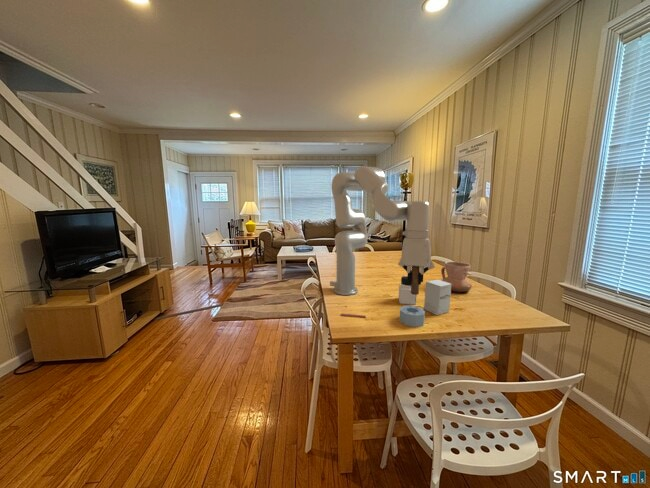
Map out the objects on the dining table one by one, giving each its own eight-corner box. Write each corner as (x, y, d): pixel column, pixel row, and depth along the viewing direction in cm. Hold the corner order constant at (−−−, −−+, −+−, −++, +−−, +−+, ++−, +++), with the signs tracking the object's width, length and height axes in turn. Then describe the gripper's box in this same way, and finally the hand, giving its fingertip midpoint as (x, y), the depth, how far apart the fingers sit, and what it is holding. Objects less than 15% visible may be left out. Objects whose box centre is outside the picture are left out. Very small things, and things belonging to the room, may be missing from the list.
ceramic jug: (480, 293, 129) (482, 265, 127) (458, 296, 124) (460, 268, 122) (451, 283, 146) (453, 259, 144) (431, 286, 141) (433, 261, 139)
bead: (398, 323, 97) (398, 312, 96) (402, 314, 105) (402, 304, 104) (422, 328, 93) (423, 316, 92) (424, 318, 101) (425, 308, 100)
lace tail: (341, 315, 104) (341, 314, 104) (341, 314, 105) (341, 313, 105) (365, 317, 102) (365, 316, 102) (365, 316, 103) (365, 315, 103)
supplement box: (437, 315, 104) (440, 286, 102) (423, 309, 110) (425, 281, 108) (449, 312, 107) (452, 283, 105) (435, 306, 113) (437, 278, 111)
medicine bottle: (416, 305, 115) (417, 279, 113) (399, 303, 116) (400, 278, 114) (413, 299, 121) (415, 275, 120) (398, 298, 123) (399, 274, 121)
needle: (410, 294, 96) (411, 260, 94) (411, 291, 98) (412, 259, 96) (418, 295, 94) (419, 261, 93) (419, 292, 97) (420, 259, 95)
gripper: (392, 235, 94) (391, 283, 96) (440, 237, 86) (438, 289, 89) (396, 233, 100) (395, 278, 103) (441, 234, 93) (439, 283, 96)
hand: (415, 282), depth 96 cm, fingers closed on needle, 2 cm apart
